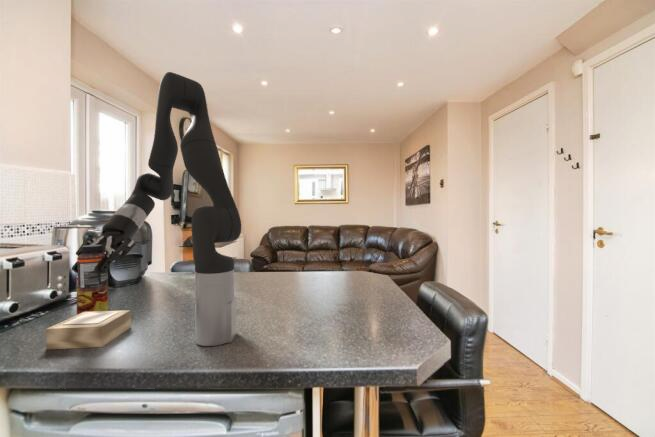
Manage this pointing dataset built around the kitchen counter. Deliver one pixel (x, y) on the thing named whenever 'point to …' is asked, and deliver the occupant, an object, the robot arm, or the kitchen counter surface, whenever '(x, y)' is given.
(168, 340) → the kitchen counter surface
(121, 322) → the oak plinth
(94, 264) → the supplement bottle
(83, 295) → the canned food
